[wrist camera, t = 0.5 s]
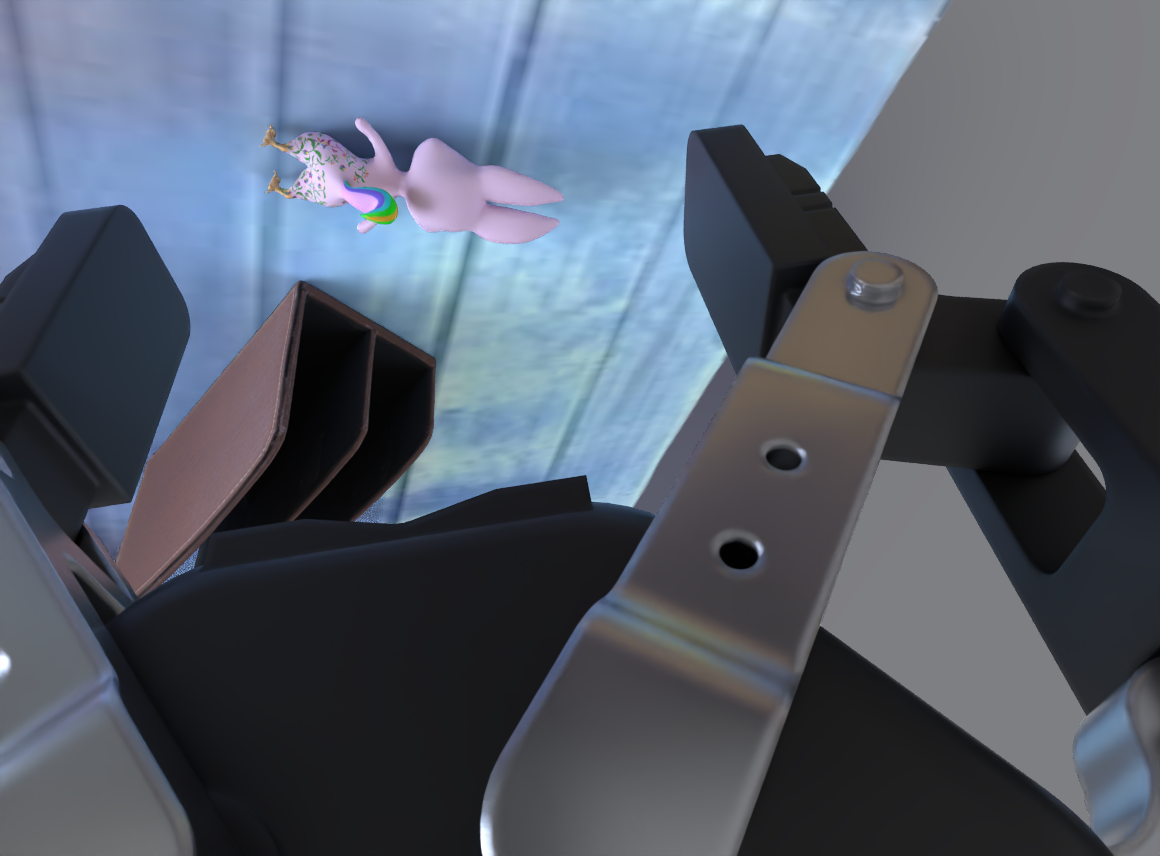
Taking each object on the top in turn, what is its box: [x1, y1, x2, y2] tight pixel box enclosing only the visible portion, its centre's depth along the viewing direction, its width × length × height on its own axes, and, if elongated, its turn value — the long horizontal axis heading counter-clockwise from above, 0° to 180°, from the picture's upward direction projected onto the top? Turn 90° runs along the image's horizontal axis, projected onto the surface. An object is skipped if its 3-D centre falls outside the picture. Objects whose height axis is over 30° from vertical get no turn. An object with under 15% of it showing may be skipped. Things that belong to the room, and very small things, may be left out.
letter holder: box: [115, 281, 436, 599], centre depth 45 cm, size 10×20×14 cm, turn 135°
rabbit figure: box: [260, 117, 564, 244], centre depth 37 cm, size 6×6×15 cm
